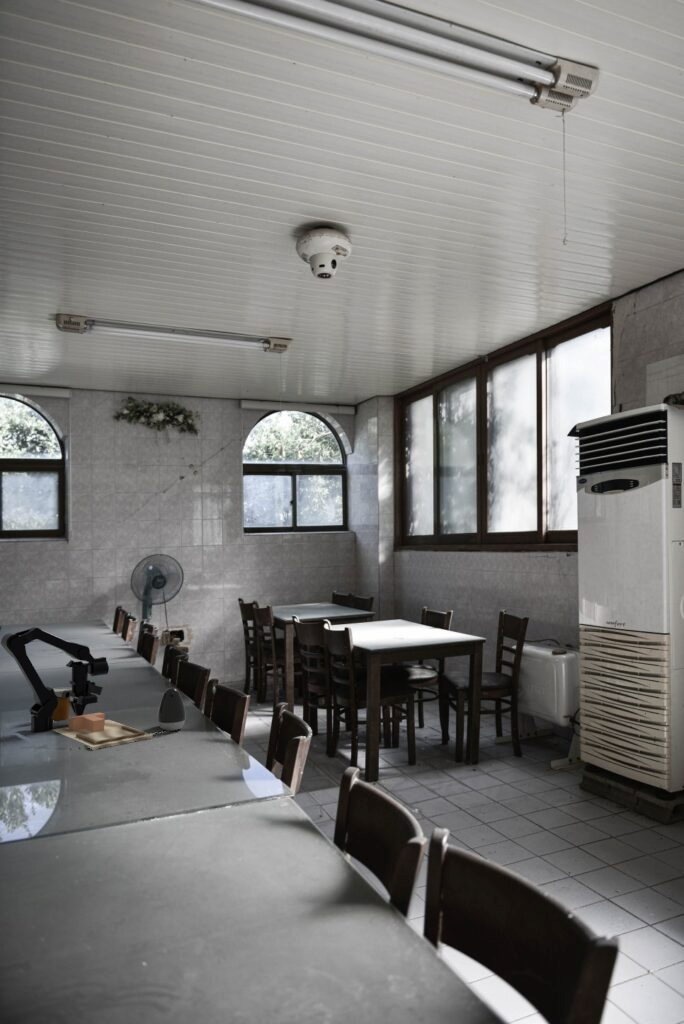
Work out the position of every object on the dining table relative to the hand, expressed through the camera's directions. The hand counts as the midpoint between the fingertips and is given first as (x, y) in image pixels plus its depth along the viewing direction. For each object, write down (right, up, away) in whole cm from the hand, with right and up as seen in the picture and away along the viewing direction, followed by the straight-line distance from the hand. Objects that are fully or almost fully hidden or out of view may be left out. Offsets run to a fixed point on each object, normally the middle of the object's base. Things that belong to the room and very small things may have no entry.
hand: (79, 719), depth 273 cm
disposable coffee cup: (-11, -3, +10) cm, 16 cm away
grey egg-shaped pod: (+36, -2, -6) cm, 37 cm away
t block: (+7, -1, -8) cm, 11 cm away
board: (+13, -2, -13) cm, 19 cm away
